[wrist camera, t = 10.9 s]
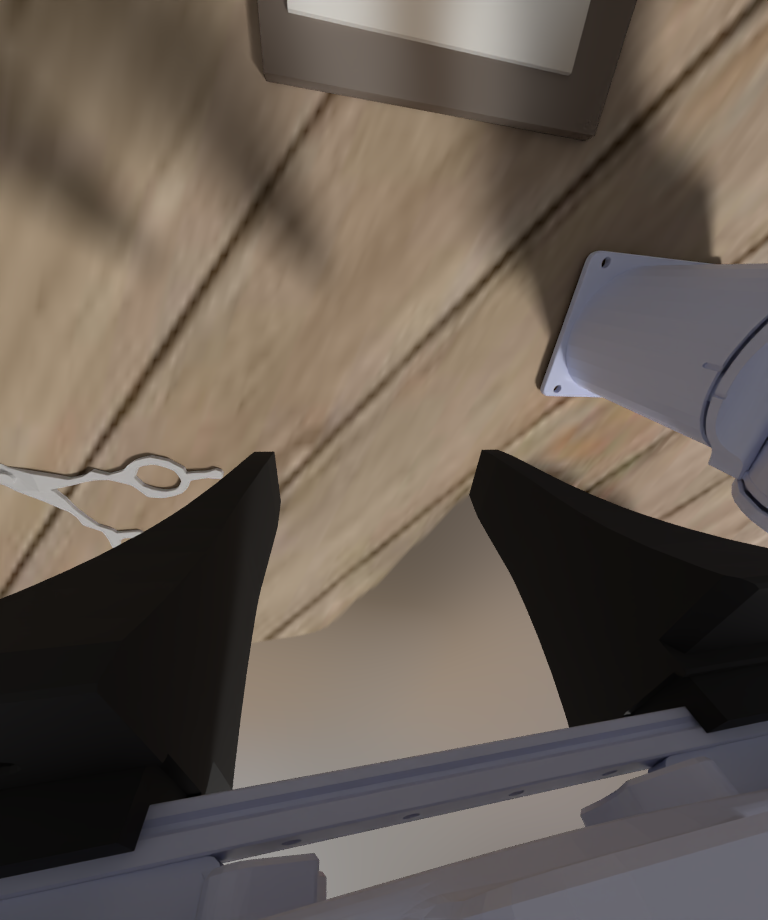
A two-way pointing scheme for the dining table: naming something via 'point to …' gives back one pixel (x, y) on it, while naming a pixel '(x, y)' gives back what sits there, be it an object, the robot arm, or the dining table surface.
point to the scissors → (47, 483)
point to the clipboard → (455, 56)
